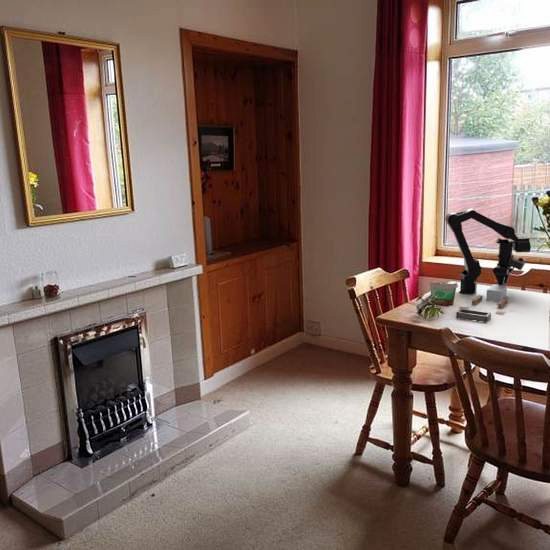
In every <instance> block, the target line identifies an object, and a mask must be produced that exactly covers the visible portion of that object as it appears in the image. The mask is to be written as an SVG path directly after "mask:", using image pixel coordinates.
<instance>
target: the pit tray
mask: <svg viewBox="0 0 550 550" xmlns="http://www.w3.org/2000/svg"><path fill="white" fill-rule="evenodd" d="M455 314H456V315H455V318H456V319H459V318H460V320H466V319H468V320H467V321H472V320H476V321H475V322H479V321H483V322H482V323H486V322H487V321H488V322H489V321H491V319H492V312H488V311H481V310H472V309H469V308H468V309H458V310H457V311H456V313H455ZM488 322H487V323H488Z"/></svg>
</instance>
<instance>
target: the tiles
mask: <svg viewBox="0 0 550 550" xmlns="http://www.w3.org/2000/svg"><path fill="white" fill-rule="evenodd" d="M459 308H461V309H467V308H468V309H469V308H470V305H466V304H461V305H459ZM495 314H496V315H502V314H503V315H505V314H506V310H504V309H497V310H496V311H495Z"/></svg>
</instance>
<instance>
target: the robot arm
mask: <svg viewBox="0 0 550 550" xmlns="http://www.w3.org/2000/svg"><path fill="white" fill-rule="evenodd" d="M469 220H474V221H475V222H478V223H480V224H482V225H484V226H485V227H487V228H490V229H492V230H493V231H494V232H495V233H496V234H498V235H499V236H500V237H498V238H497V239H496V240H494V243H496V244H498V245H499V247H498V254H497V259H498V260H497V264H496V266H495V267H493V268H492V274H493V275H494V276H495V280H496V281H497V285H504V284H507V283H508V280H509V278H510V275H511V272H512V271H514V270H515V269H517V270H519V271H522V270H523V269H524V266H525V264H526V262H525V261H524V258H523V257H519V258H516V257H514V254H513V251H514V252H515V253H516V254H517V253H519V254H520V253H530V252H531V249H532V246H531V242H530V238H529V237H518V236H517V234H516V231H515V230H516V229H515V228H514V227H512V226H510V225H508V224H504V223H501V222H498V221H495V220H493V219H491V218H489V217H488V216H486V215H484V214H481V213H479V212H478V211H476V210H474V209H473V208H469V209H466V210H462V211H458V212H448V213H447V214H446V215H445V218H444V221H445V223H446V224H447V226H448V227H449V229H450V230H451V232H452V234H453V235H454V238H455V240H456V243H457V246H458V249H459V250H460V252H461V253H460V254H461V256H462V258H463V263H464V269H463V270H462V272H460V277H461V278H460V288H459V289H460V290H459V291H458V292H459V293H461V294H467V295H474V294H475V293H477V289H478V288H477V287H478V283H477V279H478V278H479V277H480V276H481V274H482V268H483V267H482V266H481V265H480V260H478V259H477V258H474V256H473V254H472V251H471V249H470V247H469V244H468V242H467V239H466V236H465V234H464V232H463V226H462V223H464V222H466V221H469ZM502 238H504V239H502Z"/></svg>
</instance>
